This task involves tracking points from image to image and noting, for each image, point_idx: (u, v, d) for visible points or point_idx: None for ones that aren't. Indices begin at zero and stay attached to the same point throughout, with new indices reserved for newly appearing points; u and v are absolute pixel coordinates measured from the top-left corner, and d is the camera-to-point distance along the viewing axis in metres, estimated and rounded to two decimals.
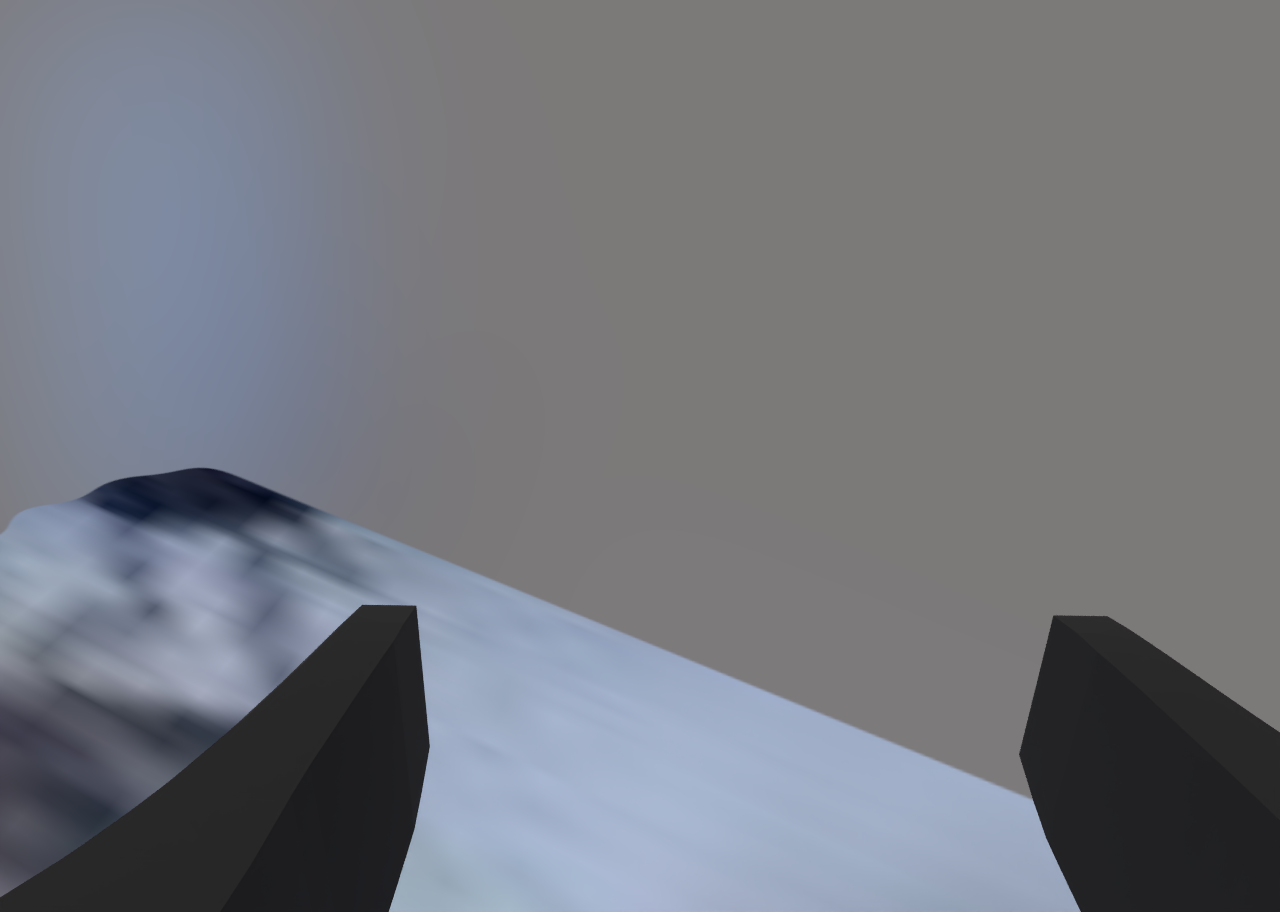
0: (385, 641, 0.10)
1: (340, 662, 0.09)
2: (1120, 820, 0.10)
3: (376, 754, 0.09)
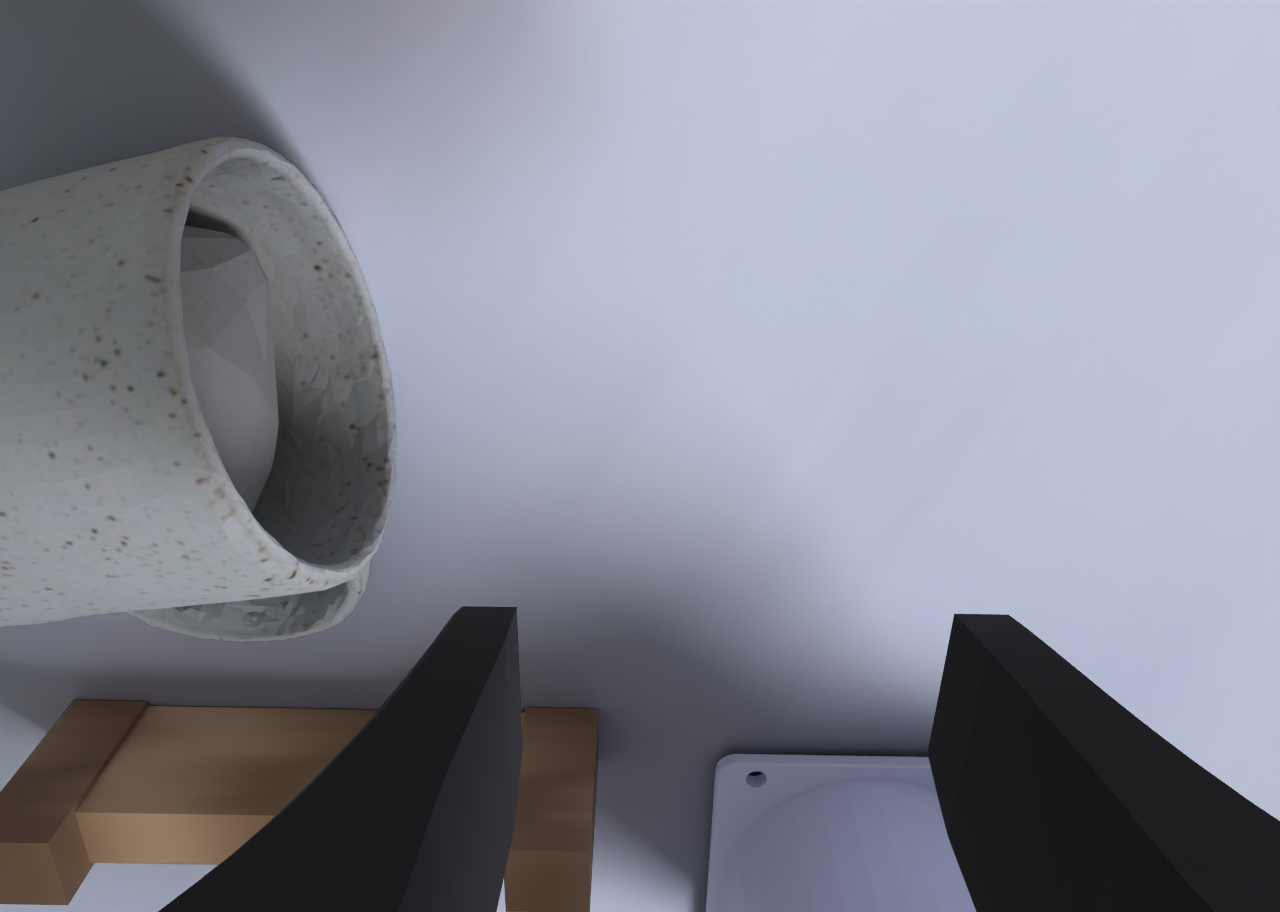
0: (496, 643, 0.10)
1: (456, 664, 0.09)
2: (1006, 818, 0.09)
3: (491, 756, 0.09)
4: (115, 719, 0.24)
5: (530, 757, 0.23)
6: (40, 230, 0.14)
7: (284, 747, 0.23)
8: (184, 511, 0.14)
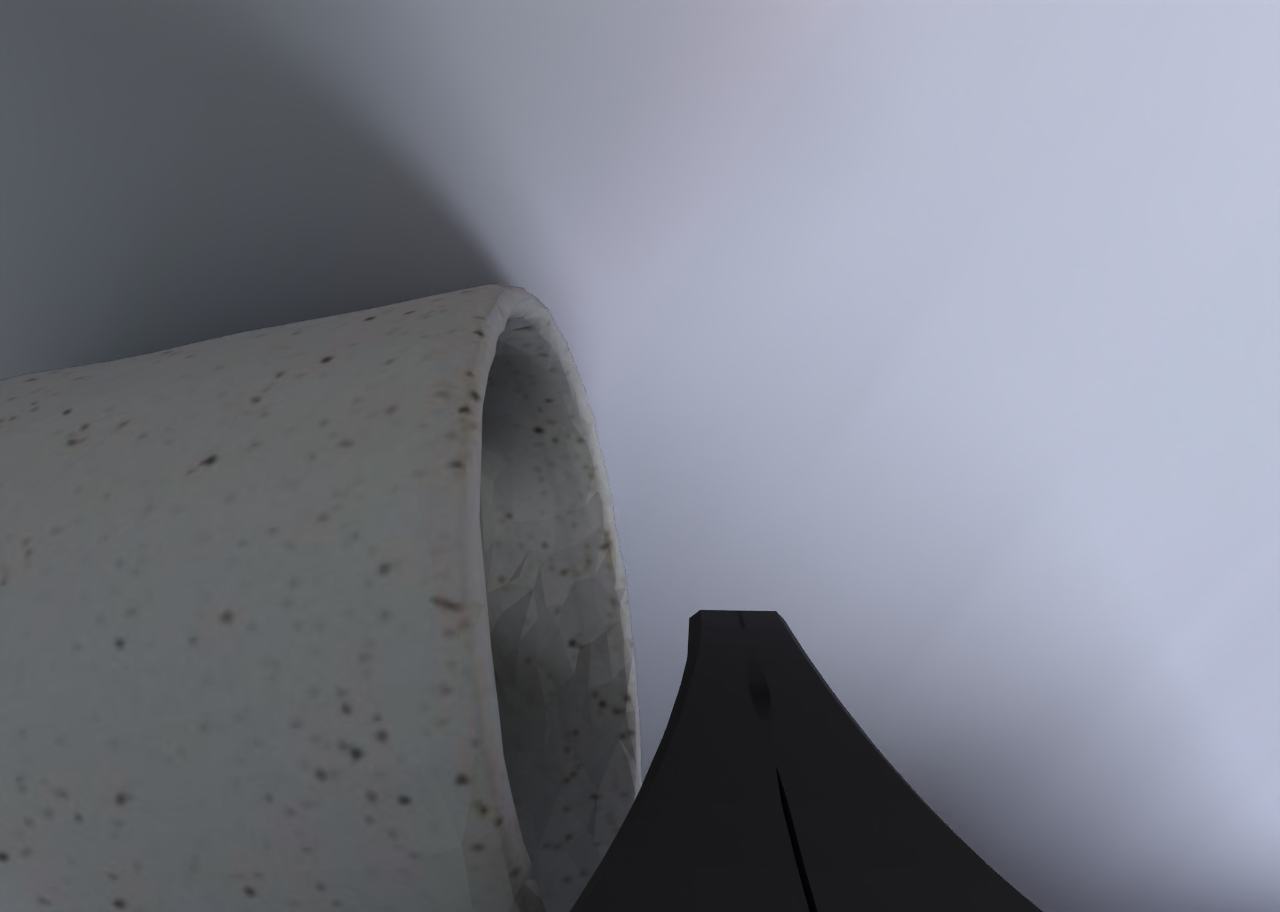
0: (758, 647, 0.10)
1: (731, 668, 0.09)
2: None
3: None
4: None
5: None
6: (223, 484, 0.08)
7: None
8: None
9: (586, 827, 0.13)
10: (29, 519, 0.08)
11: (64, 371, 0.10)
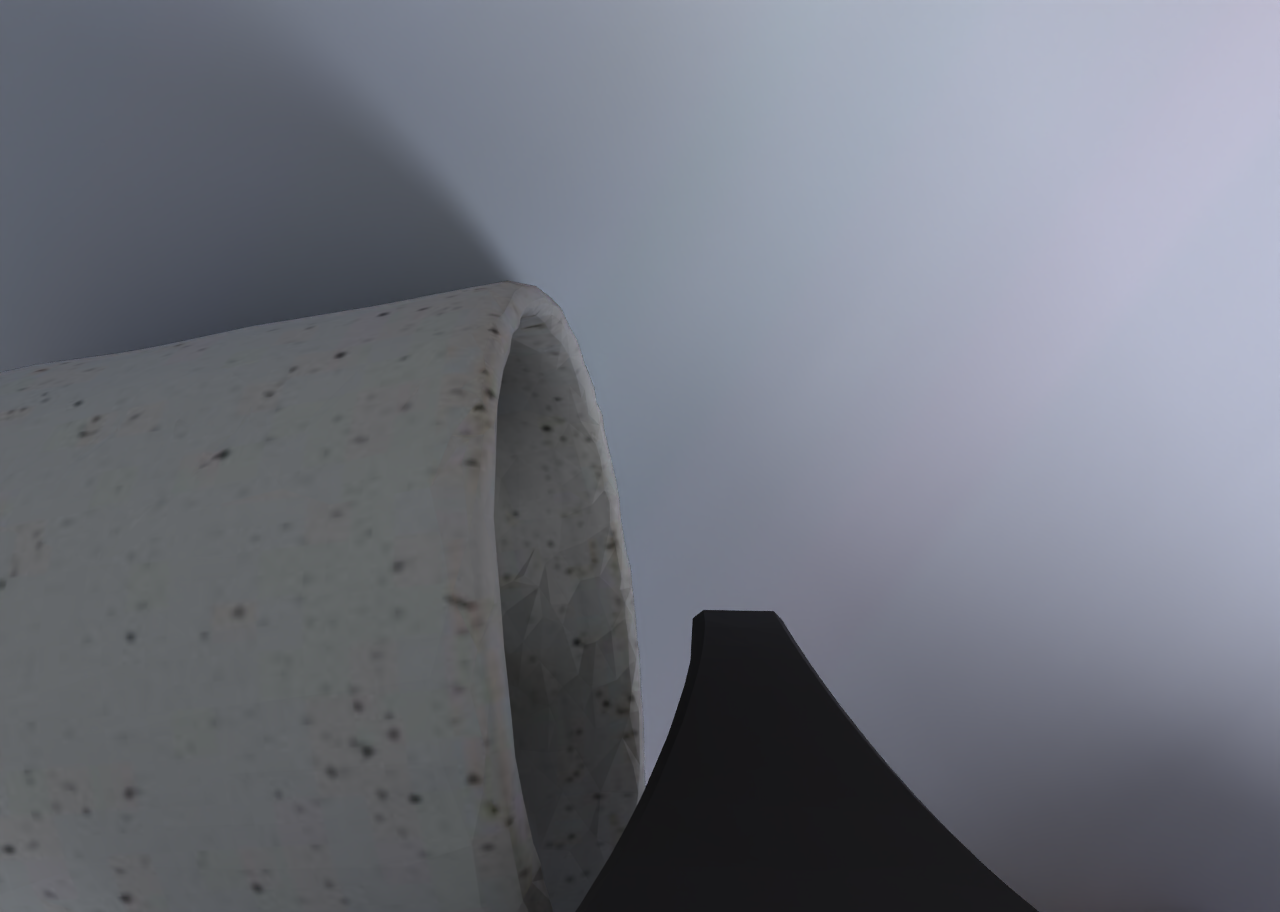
0: (761, 647, 0.10)
1: (734, 668, 0.09)
2: None
3: None
4: None
5: None
6: (236, 478, 0.08)
7: None
8: None
9: (589, 827, 0.13)
10: (41, 510, 0.08)
11: (74, 362, 0.10)
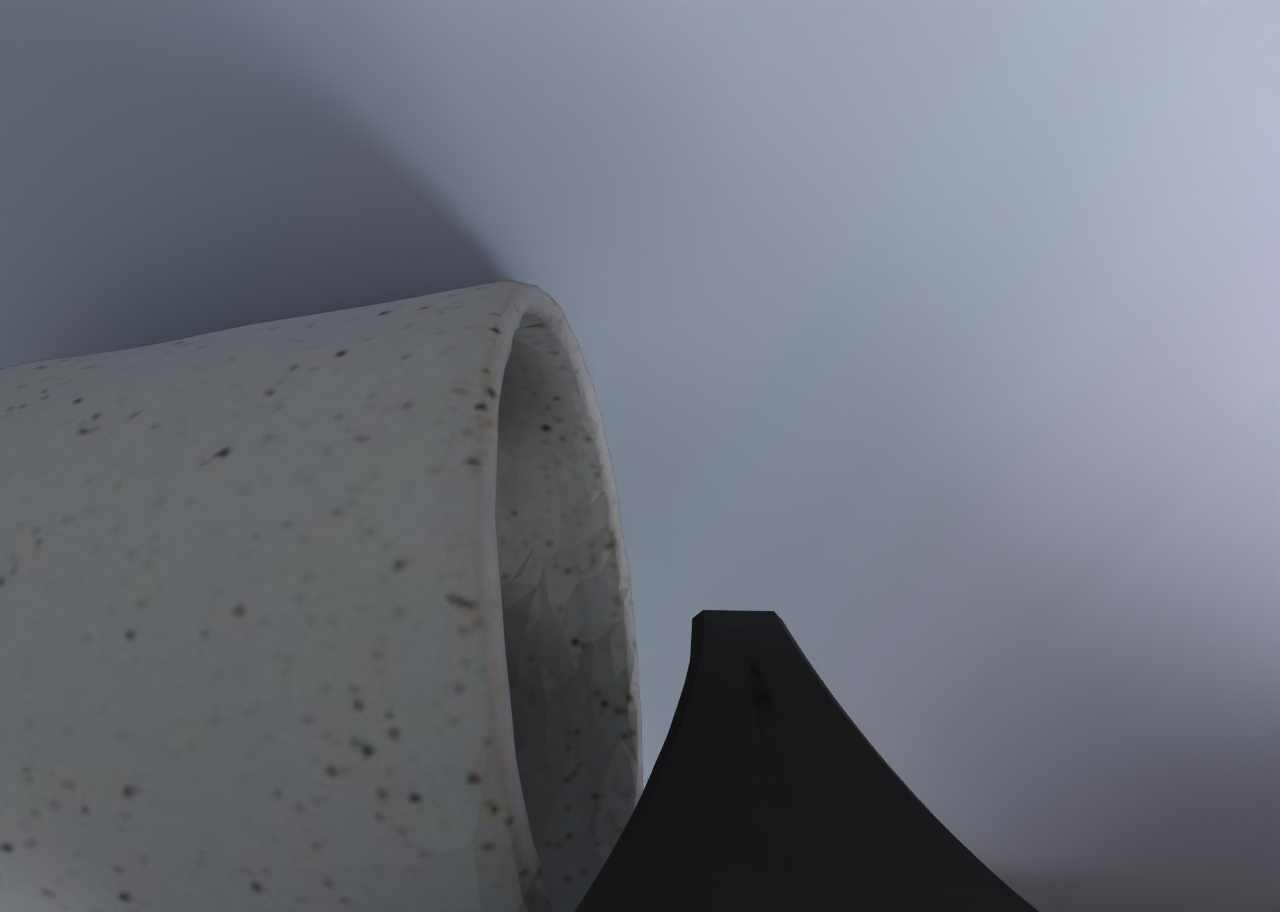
0: (761, 647, 0.10)
1: (734, 668, 0.09)
2: None
3: None
4: None
5: None
6: (236, 476, 0.08)
7: None
8: None
9: (587, 826, 0.13)
10: (40, 509, 0.08)
11: (74, 359, 0.10)
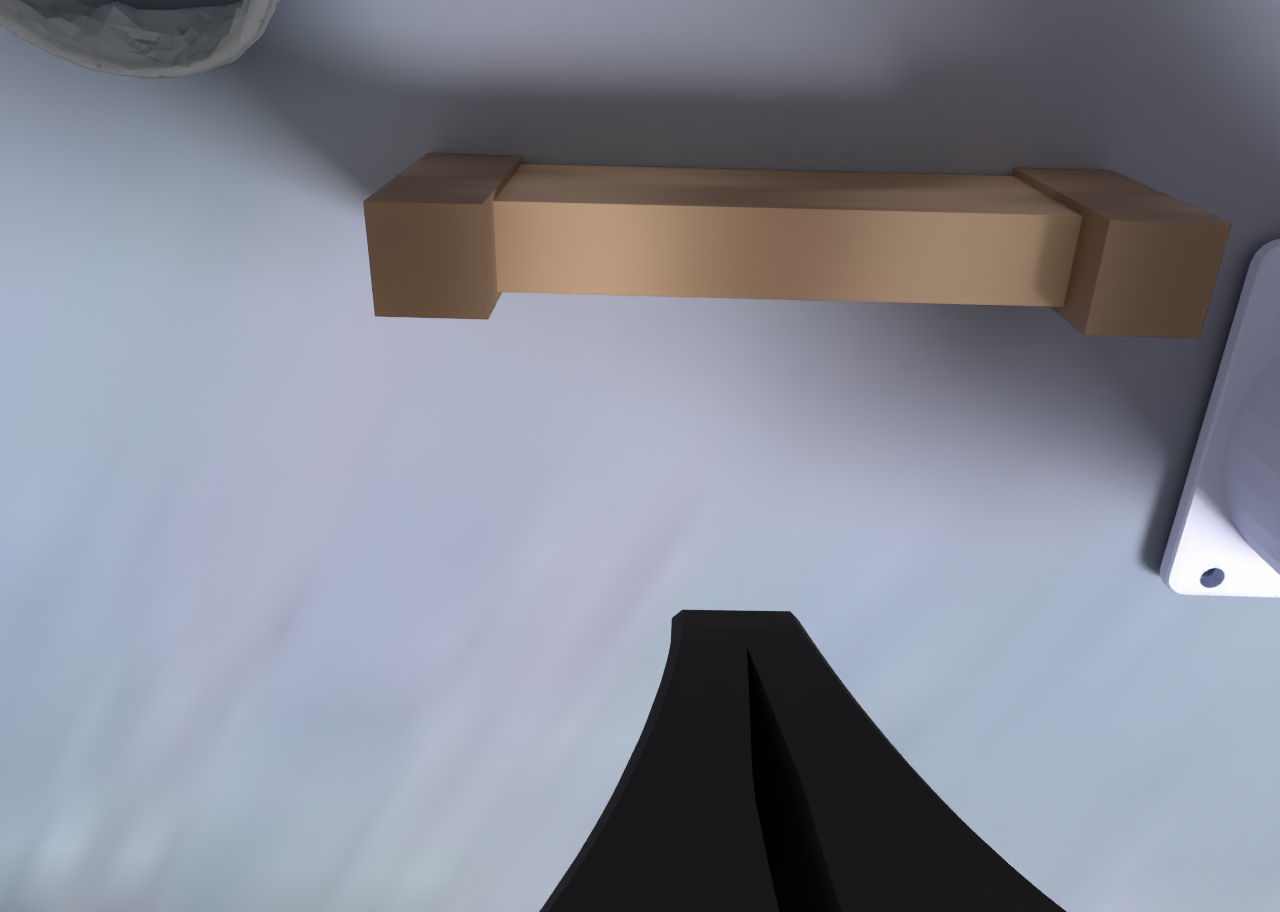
0: (738, 647, 0.10)
1: (710, 668, 0.09)
2: (757, 815, 0.09)
3: None
4: (492, 161, 0.18)
5: None
6: None
7: (726, 181, 0.18)
8: None
9: None
10: None
11: None
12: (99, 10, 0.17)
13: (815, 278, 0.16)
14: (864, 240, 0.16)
